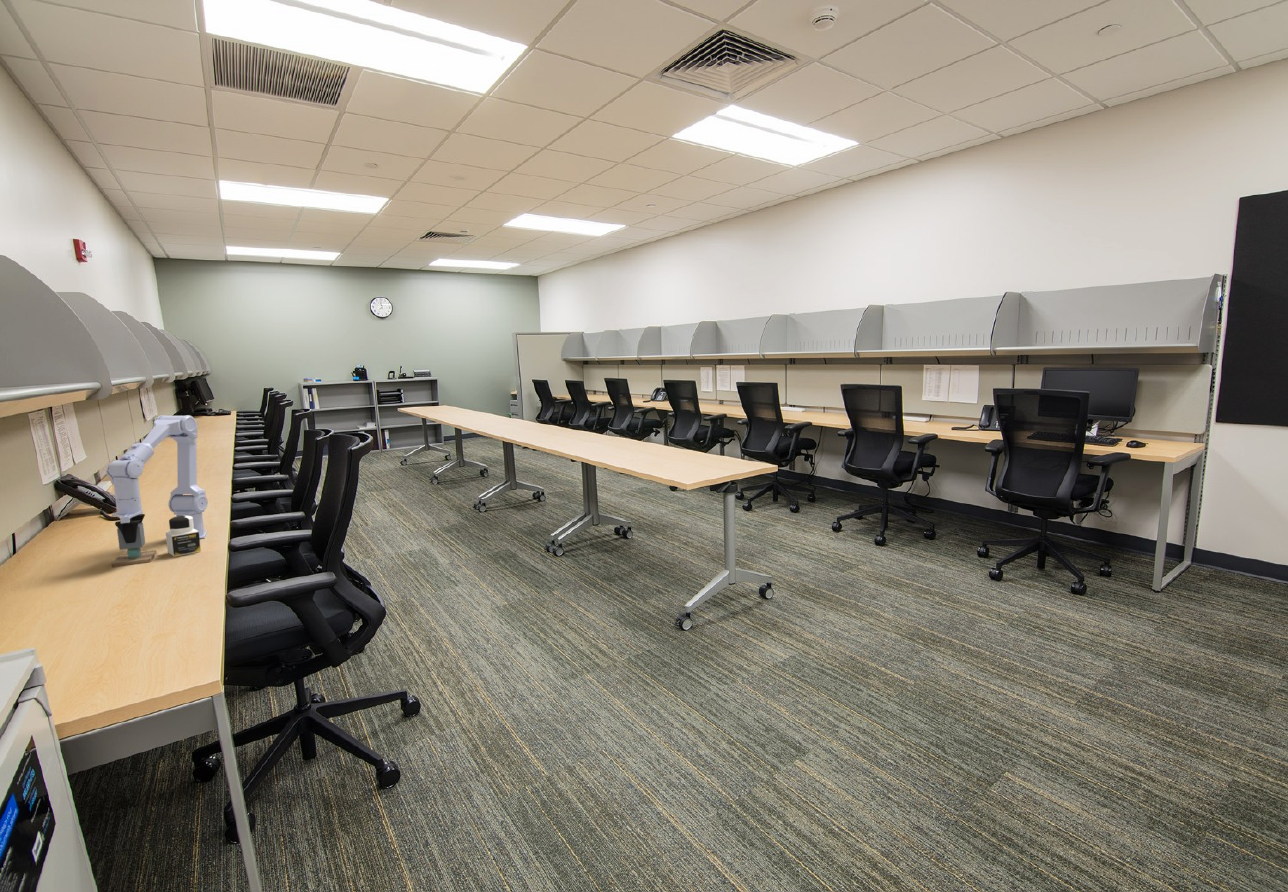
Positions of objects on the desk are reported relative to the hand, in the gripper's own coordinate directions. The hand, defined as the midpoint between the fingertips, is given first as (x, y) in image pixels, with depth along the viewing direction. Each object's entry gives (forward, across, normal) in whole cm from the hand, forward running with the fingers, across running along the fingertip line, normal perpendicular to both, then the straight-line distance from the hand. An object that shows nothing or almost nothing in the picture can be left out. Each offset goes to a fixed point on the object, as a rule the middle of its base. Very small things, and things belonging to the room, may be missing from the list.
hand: (132, 540), depth 176 cm
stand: (+6, 0, 0) cm, 6 cm away
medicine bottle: (+7, -2, +12) cm, 14 cm away
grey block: (+2, 0, 0) cm, 2 cm away
